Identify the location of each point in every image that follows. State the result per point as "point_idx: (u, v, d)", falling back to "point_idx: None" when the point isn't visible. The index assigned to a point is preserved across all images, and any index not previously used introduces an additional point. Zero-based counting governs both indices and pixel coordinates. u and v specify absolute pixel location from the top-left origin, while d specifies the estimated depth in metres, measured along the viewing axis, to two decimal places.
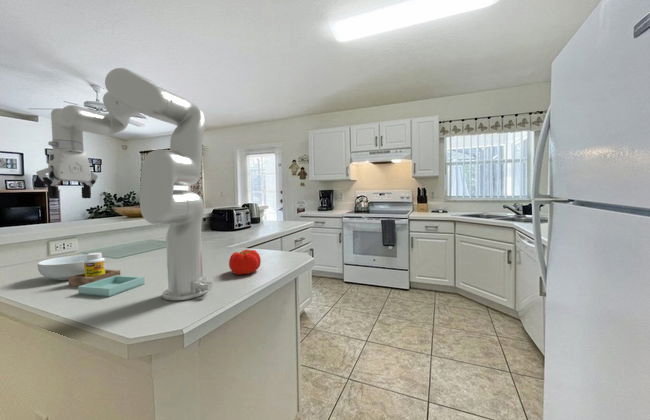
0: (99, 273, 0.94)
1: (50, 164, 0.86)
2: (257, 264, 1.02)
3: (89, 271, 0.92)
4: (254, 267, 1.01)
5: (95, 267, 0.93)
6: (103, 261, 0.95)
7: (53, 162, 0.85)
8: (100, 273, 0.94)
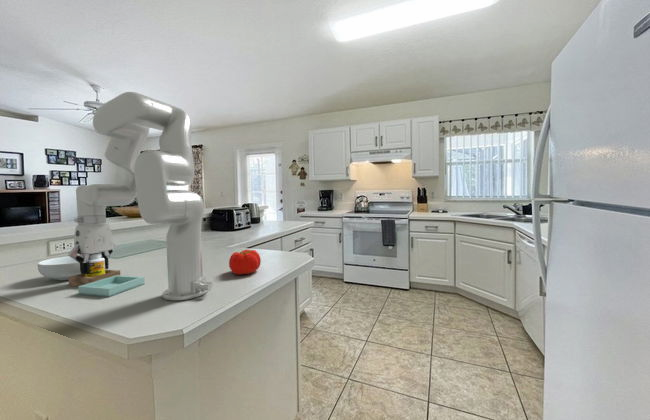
0: (99, 273, 0.94)
1: (76, 239, 0.90)
2: (257, 264, 1.02)
3: None
4: (254, 267, 1.01)
5: (95, 267, 0.93)
6: (103, 261, 0.95)
7: (79, 238, 0.89)
8: (100, 273, 0.94)
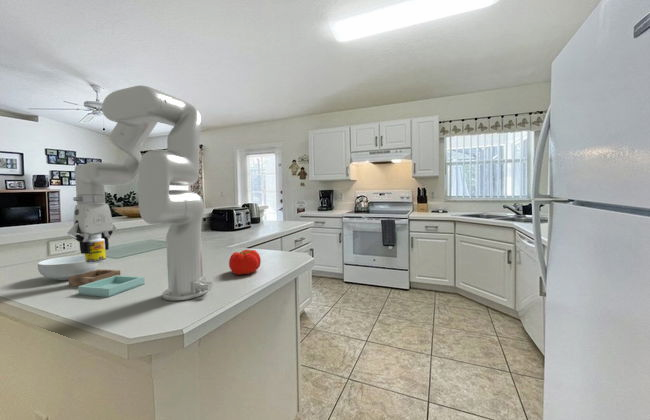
0: (99, 253, 0.93)
1: (75, 218, 0.89)
2: (257, 264, 1.02)
3: None
4: (254, 267, 1.01)
5: (95, 247, 0.92)
6: (103, 241, 0.95)
7: (78, 217, 0.89)
8: (100, 253, 0.94)
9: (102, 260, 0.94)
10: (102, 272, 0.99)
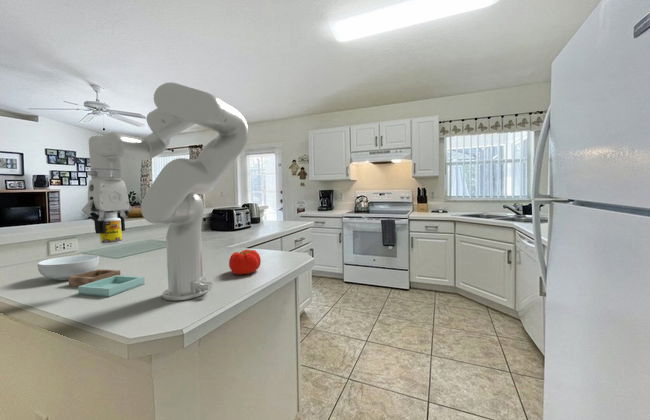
0: (116, 234, 0.85)
1: (90, 194, 0.81)
2: (257, 264, 1.02)
3: None
4: (254, 267, 1.01)
5: (111, 226, 0.84)
6: (119, 221, 0.87)
7: (93, 193, 0.81)
8: (116, 233, 0.86)
9: (118, 241, 0.86)
10: (102, 272, 0.99)
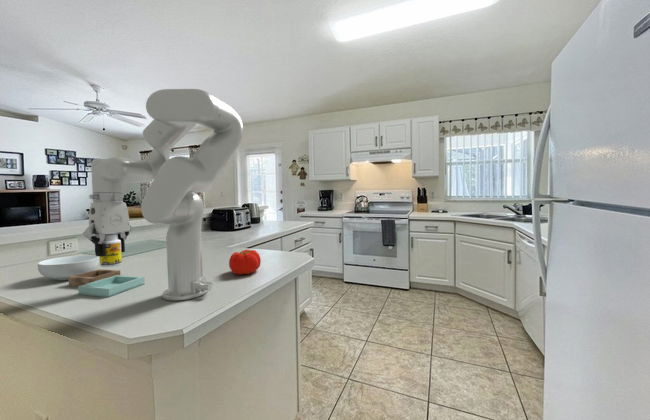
0: (115, 256, 0.86)
1: (91, 218, 0.81)
2: (257, 264, 1.02)
3: None
4: (254, 267, 1.01)
5: (111, 249, 0.85)
6: (119, 243, 0.87)
7: (94, 216, 0.81)
8: (116, 256, 0.86)
9: (118, 263, 0.86)
10: (102, 272, 0.99)
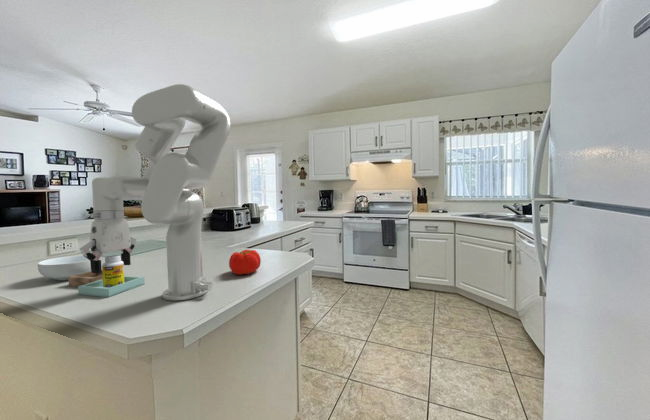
0: (119, 278, 0.86)
1: (92, 237, 0.82)
2: (257, 264, 1.02)
3: (108, 275, 0.84)
4: (254, 267, 1.01)
5: (114, 271, 0.85)
6: (122, 264, 0.88)
7: (95, 235, 0.81)
8: (119, 278, 0.86)
9: None
10: None
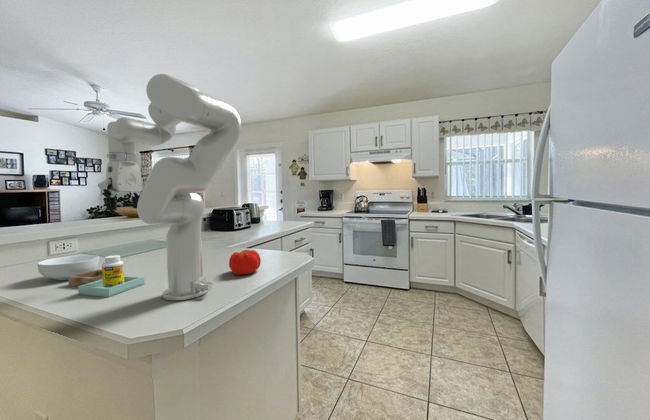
0: (118, 278, 0.86)
1: (108, 176, 0.88)
2: (257, 264, 1.02)
3: (108, 275, 0.84)
4: (254, 267, 1.01)
5: (114, 271, 0.85)
6: (122, 265, 0.88)
7: (112, 174, 0.87)
8: (119, 278, 0.86)
9: None
10: None
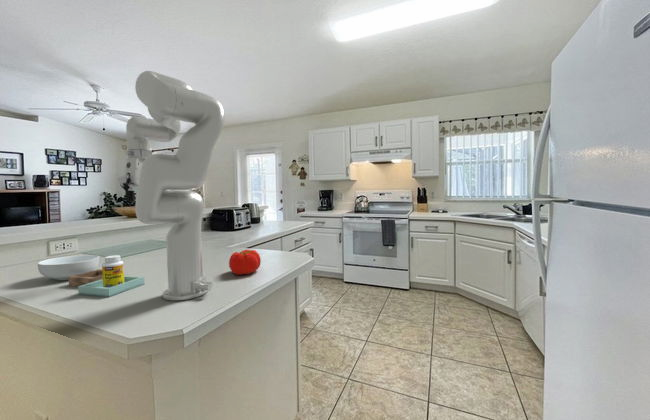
0: (119, 278, 0.86)
1: (127, 171, 0.96)
2: (257, 264, 1.02)
3: (108, 275, 0.84)
4: (254, 267, 1.01)
5: (114, 271, 0.85)
6: (122, 265, 0.88)
7: (130, 169, 0.95)
8: (119, 278, 0.86)
9: None
10: None
